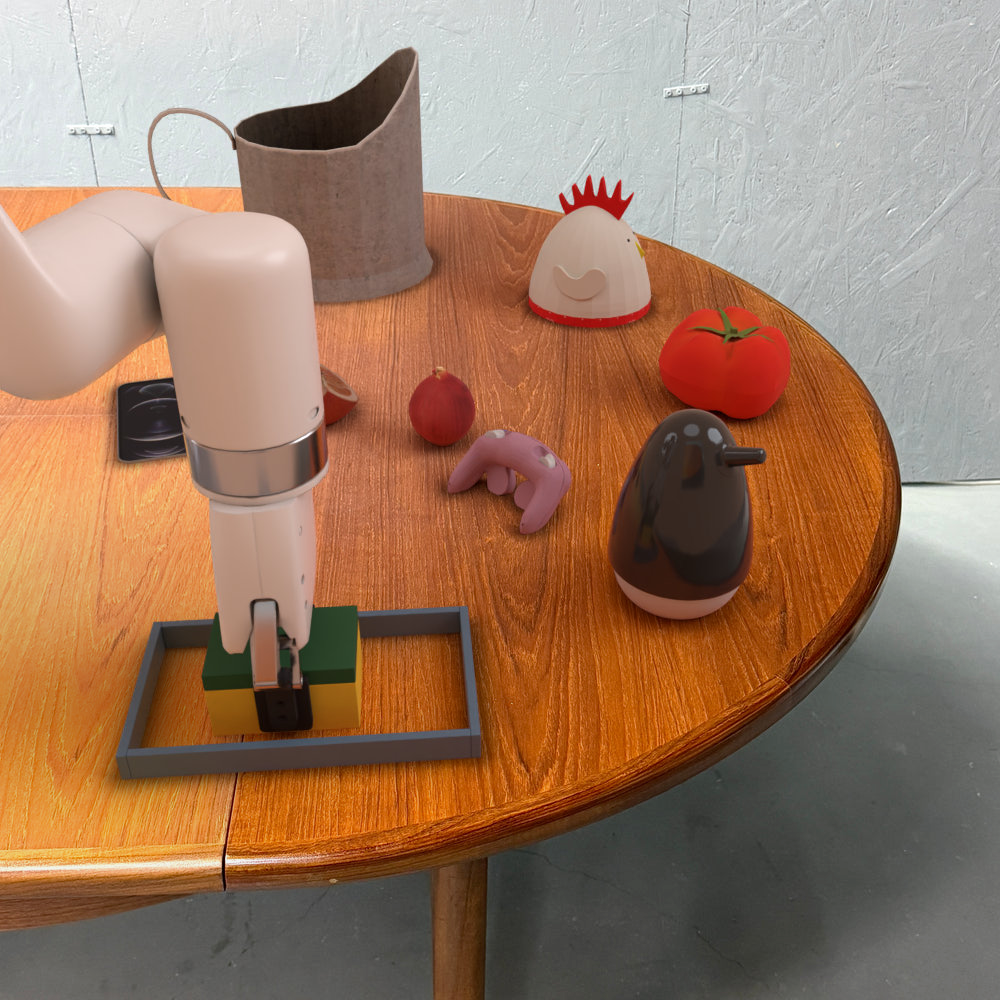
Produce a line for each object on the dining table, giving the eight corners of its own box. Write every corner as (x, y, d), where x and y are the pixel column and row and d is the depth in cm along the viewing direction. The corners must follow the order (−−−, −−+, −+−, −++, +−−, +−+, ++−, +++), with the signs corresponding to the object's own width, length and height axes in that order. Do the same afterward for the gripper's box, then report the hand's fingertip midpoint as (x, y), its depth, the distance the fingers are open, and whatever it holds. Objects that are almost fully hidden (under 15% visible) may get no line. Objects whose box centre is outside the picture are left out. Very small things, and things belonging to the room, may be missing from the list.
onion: (433, 424, 100) (431, 346, 96) (487, 440, 98) (487, 360, 93) (398, 452, 96) (394, 371, 91) (453, 469, 93) (451, 387, 89)
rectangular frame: (123, 786, 63) (115, 757, 62) (159, 649, 74) (153, 621, 72) (481, 764, 65) (480, 734, 64) (468, 633, 75) (467, 605, 74)
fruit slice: (278, 405, 103) (272, 357, 100) (346, 393, 105) (342, 346, 102) (298, 446, 97) (292, 397, 94) (370, 432, 99) (366, 384, 96)
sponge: (213, 737, 66) (200, 676, 63) (225, 670, 71) (214, 611, 68) (360, 728, 67) (354, 668, 64) (362, 663, 72) (357, 604, 69)
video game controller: (559, 540, 87) (588, 460, 86) (524, 540, 84) (554, 457, 82) (474, 493, 93) (500, 417, 91) (438, 491, 89) (465, 412, 88)
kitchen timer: (634, 339, 116) (645, 202, 108) (513, 322, 119) (514, 188, 111) (660, 292, 127) (671, 164, 119) (548, 278, 130) (551, 153, 122)
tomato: (637, 380, 108) (644, 300, 103) (754, 369, 110) (765, 290, 105) (681, 442, 98) (690, 357, 93) (808, 429, 100) (824, 345, 95)
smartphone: (117, 463, 92) (115, 383, 104) (119, 471, 93) (117, 392, 105) (205, 450, 94) (194, 374, 106) (207, 459, 95) (196, 382, 107)
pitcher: (452, 295, 126) (447, 70, 112) (173, 324, 118) (131, 87, 105) (413, 230, 144) (405, 30, 130) (169, 252, 137) (133, 42, 123)
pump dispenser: (698, 663, 73) (726, 472, 64) (576, 599, 78) (586, 417, 70) (772, 592, 79) (806, 411, 71) (654, 538, 85) (672, 364, 76)
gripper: (209, 377, 66) (246, 607, 75) (159, 541, 51) (213, 799, 61) (333, 373, 66) (354, 602, 76) (318, 534, 52) (346, 790, 62)
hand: (291, 687), depth 68 cm, fingers closed on sponge, 6 cm apart
